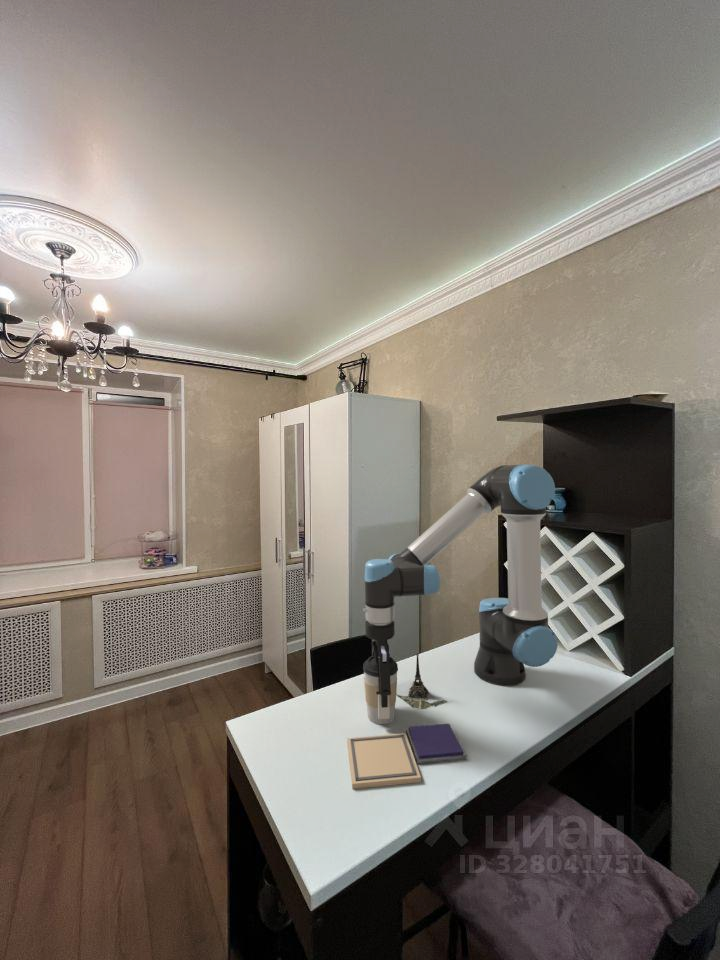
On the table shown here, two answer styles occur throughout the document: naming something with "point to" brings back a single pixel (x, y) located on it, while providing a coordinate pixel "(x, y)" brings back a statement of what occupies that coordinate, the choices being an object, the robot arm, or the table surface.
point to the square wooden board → (381, 761)
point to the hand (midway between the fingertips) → (380, 707)
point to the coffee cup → (373, 687)
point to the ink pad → (435, 744)
